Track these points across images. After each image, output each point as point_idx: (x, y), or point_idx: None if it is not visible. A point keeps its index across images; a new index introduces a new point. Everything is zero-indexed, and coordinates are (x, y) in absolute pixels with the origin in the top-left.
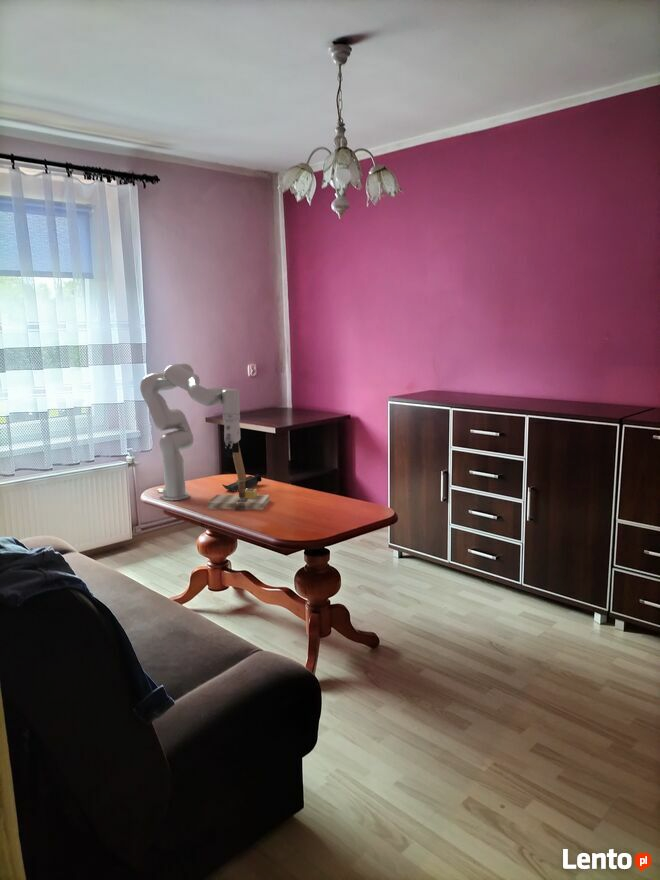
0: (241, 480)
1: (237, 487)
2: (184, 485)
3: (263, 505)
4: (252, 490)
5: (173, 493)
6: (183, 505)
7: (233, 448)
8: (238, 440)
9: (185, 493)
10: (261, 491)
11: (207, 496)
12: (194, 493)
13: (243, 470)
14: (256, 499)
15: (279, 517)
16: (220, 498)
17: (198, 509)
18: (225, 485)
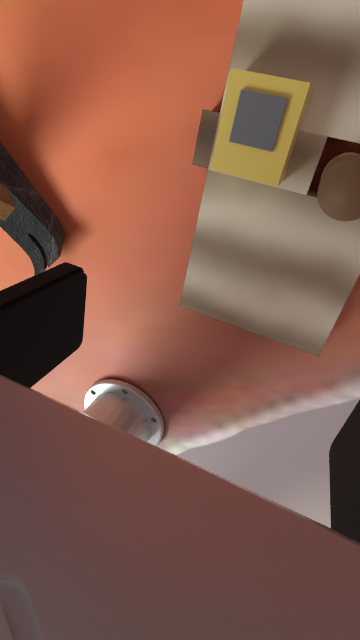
0: (323, 191)
1: (36, 207)
2: (107, 421)
3: None
4: (287, 99)
5: (144, 440)
6: (226, 409)
7: (48, 353)
8: (66, 424)
9: (119, 398)
10: (51, 76)
11: (120, 324)
12: (81, 360)
13: None
14: (350, 69)
15: None
16: (252, 294)
17: (304, 372)
18: (50, 264)
